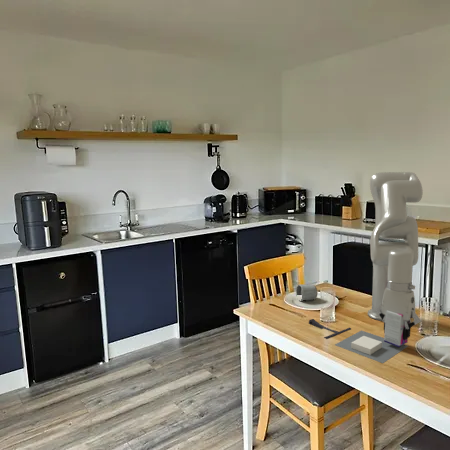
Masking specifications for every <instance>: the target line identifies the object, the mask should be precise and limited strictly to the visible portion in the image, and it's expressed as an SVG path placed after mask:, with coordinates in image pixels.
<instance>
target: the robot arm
mask: <svg viewBox="0 0 450 450" xmlns="http://www.w3.org/2000/svg"><path fill="white" fill-rule="evenodd" d="M369 189H370V194H371V196H372V197H371V198H372V199H373V202H374V208H375V226H374V228H373V230H372V232H371V234H370V241H369V242H370V259H371V262H372V266H373V267H372V295H371V309H368V311H367V316H369V318H371V319H374V320H376V321H380V322H382V323H383V332H384V334H385V321H386V311H390V312H393V313H397V314H400V315H403V320H404V326H405V328H404V329H403V340H406V339H407V338H408V339H409V338H410V337H411V328H413V327H414V326H416V325H417V324H419V323H421V321H422V320H421V318H420V316H418V314H417V313H416V299H415V293H414V292H415V291H414V290H416V285H414V284H413V282H412V281H413V280H412V278H413V266H416V265H417V264H418V261H419V227H418V226H419V225H418V222H417V220H416V218H415V217H413V216H410V215H407V214H408V213H407V205H406V203H415V204H416V203H419V202H421V200H422V198H423V191H424V190H423V185H422V182H421V180H420V178H419V177H418V176H417V174H416V173H415V172H411V171H403V172H402V171H401V172H400V171H398V172H397V171H387V172H386V171H383V172H376V173H373V174H372V175H371V176H370V179H369ZM380 238H381V239H386V240H388V239H389V240H403V241H404V242H401V241H399V242H397V241H380V242H379V240H380ZM411 319H413V321H412V320H411Z"/></svg>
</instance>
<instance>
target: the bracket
mask: <svg viewBox="0 0 450 450" xmlns="http://www.w3.org/2000/svg"><path fill="white" fill-rule="evenodd" d="M308 324H309V325H310V326H312V327H313V326H314V327H315V328H318V329H320V330H327V331H329V332H332V333H331V334H329V335H327V336H324V337H323V338H324V339H326V340H328V339H331V338H334V337H335V336H338V335H341V334H344V333H345V332H348V331H350V330H352V328H351V327H348V328H345V329H342V330H340V331H338V330H334V329H330V328H329V327H327V326H324V325H322V324H320V323H319V322H317V321H316V320H315V319H314V318H312V319H309V320H308Z"/></svg>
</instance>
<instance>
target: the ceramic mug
mask: <svg viewBox="0 0 450 450" xmlns="http://www.w3.org/2000/svg"><path fill="white" fill-rule="evenodd" d="M295 292H296V293H295V295H296V296H297V295H302V299H301V301H300V302H304V301H303V300H307V301H314V300H316V299H317V297H318V288H317V286H316V285H315V284H298V285H297V286H296V288H295ZM313 299H314V300H313Z"/></svg>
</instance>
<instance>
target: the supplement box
mask: <svg viewBox="0 0 450 450" xmlns="http://www.w3.org/2000/svg"><path fill="white" fill-rule="evenodd" d="M404 328H405V326H404V320H403V315H400V314H397V313H393V312H390V311H386V321H385V333H384V337H383V338H384V342H386V343H389V344H392V345H394V346H397V347H400V346H401V345H403V344H404V345H406V344H408V340H409V338H407V339H406V340H403V329H404Z"/></svg>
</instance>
